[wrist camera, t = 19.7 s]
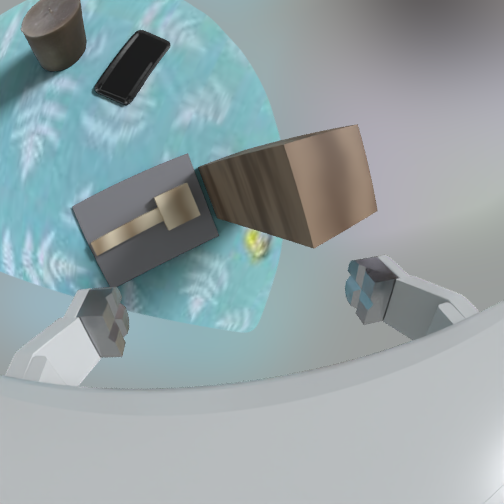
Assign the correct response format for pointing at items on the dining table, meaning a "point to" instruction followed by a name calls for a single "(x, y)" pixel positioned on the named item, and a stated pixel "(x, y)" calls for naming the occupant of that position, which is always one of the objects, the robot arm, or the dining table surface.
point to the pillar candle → (55, 33)
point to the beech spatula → (153, 217)
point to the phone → (132, 67)
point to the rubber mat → (134, 205)
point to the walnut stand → (295, 186)
